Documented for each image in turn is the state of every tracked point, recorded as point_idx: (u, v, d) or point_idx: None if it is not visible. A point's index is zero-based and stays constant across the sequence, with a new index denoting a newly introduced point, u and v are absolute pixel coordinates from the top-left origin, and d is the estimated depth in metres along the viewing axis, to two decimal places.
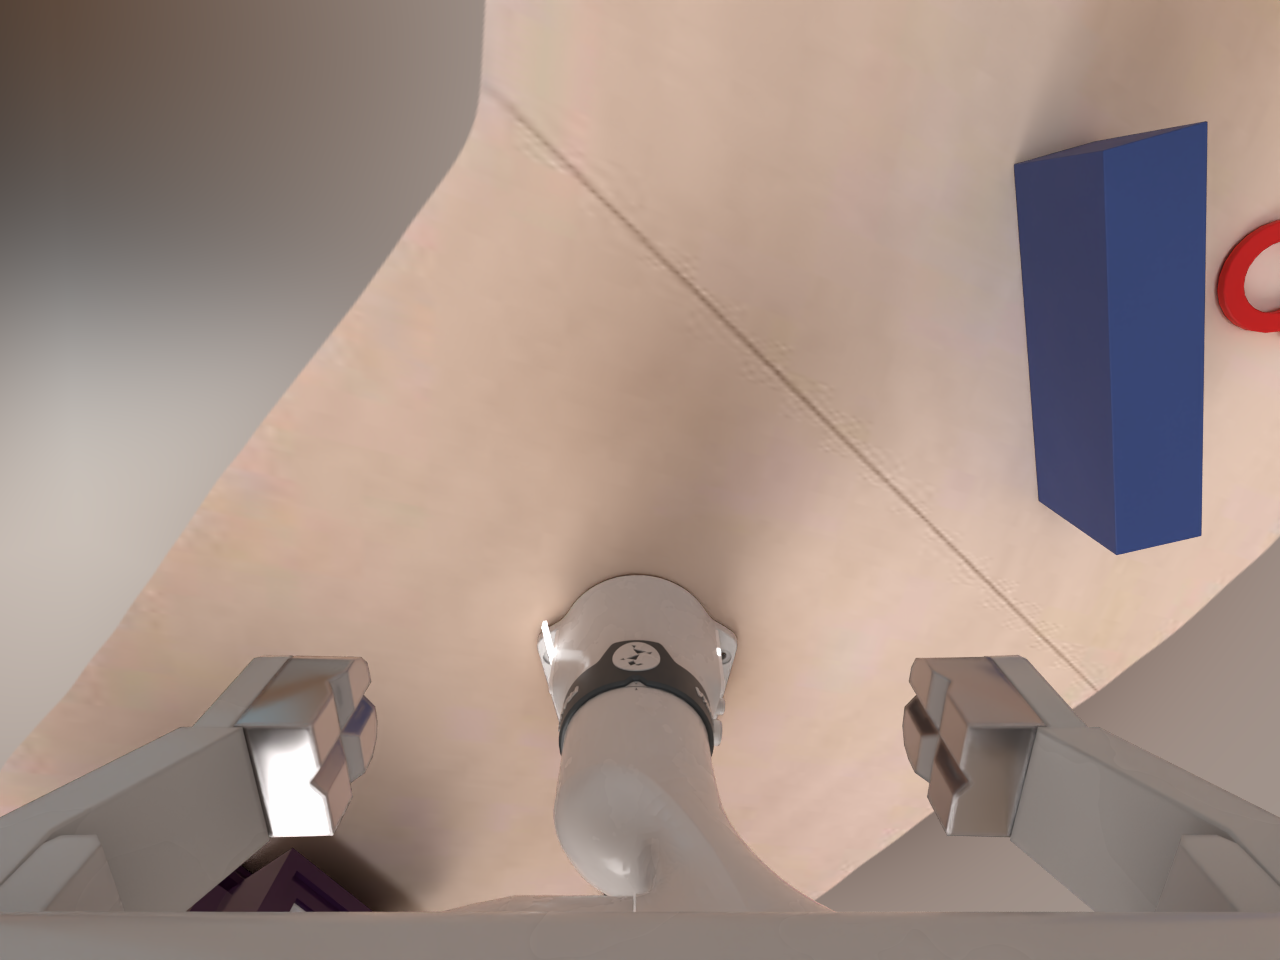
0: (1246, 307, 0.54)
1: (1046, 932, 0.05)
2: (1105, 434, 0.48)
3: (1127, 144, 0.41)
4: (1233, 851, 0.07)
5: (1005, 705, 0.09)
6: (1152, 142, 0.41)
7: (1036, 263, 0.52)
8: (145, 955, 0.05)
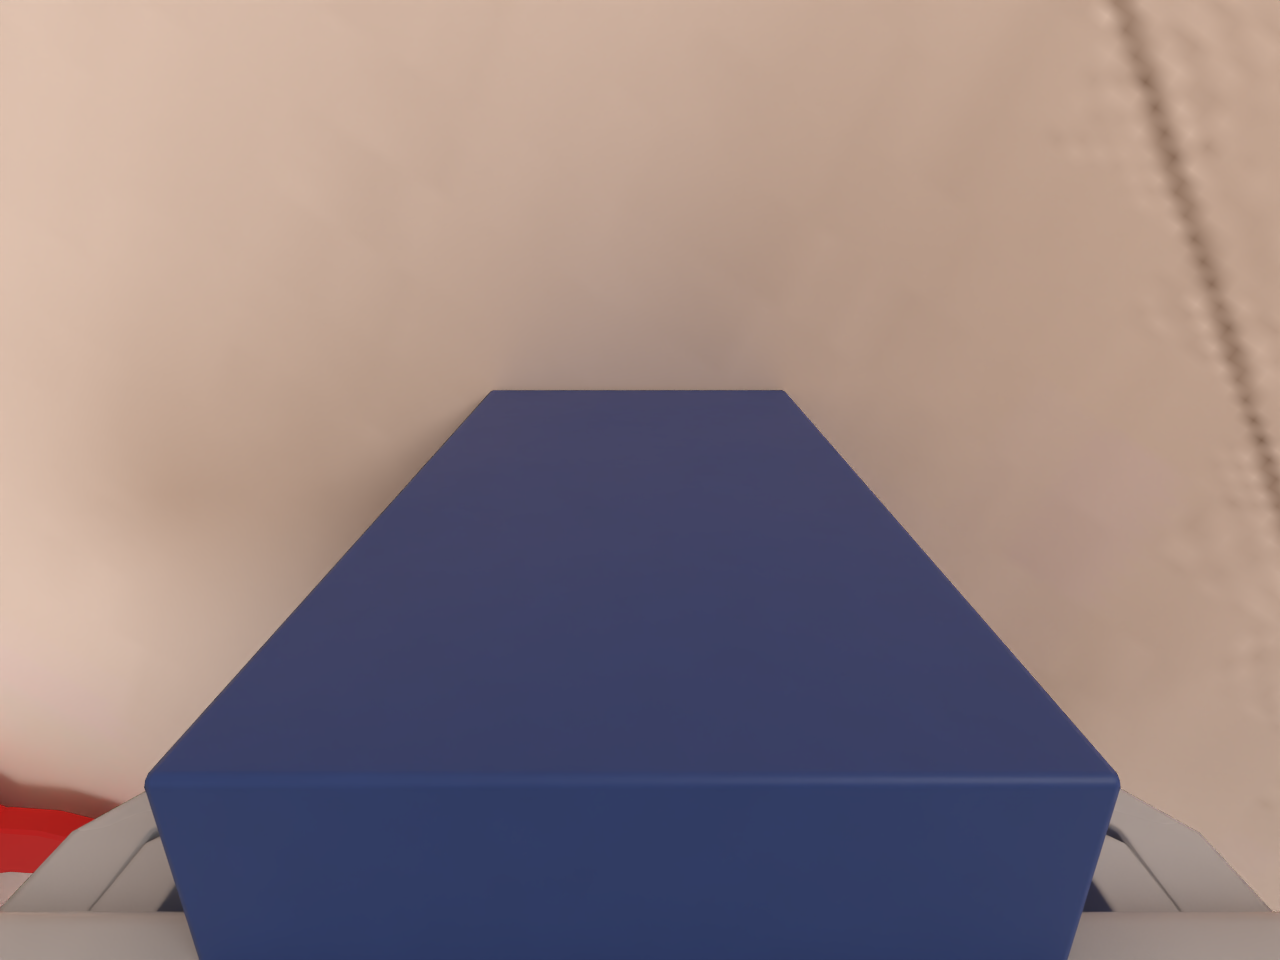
0: None
1: None
2: None
3: None
4: (1119, 850, 0.07)
5: None
6: None
7: None
8: (145, 954, 0.05)
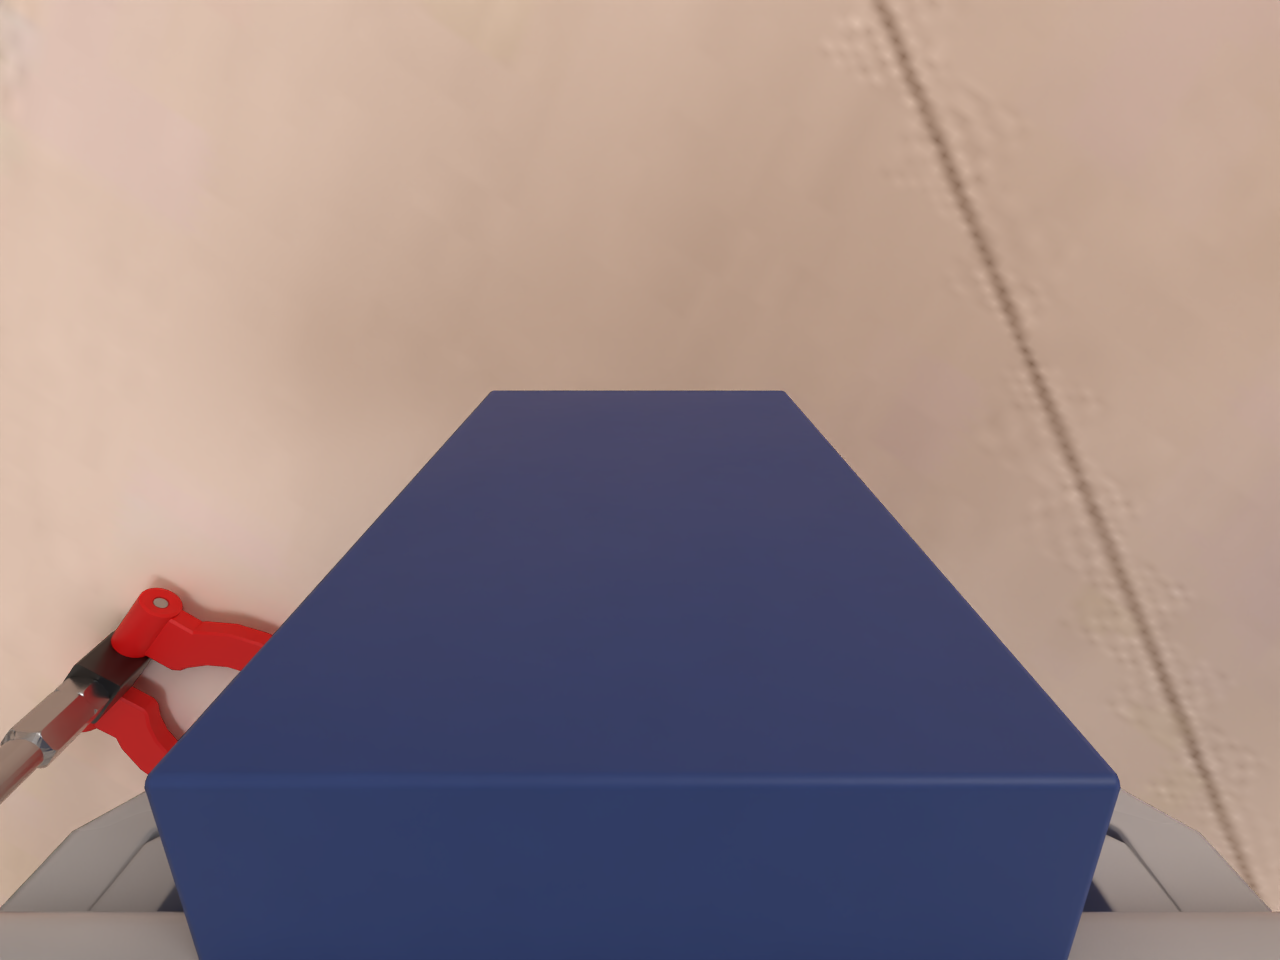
0: None
1: None
2: None
3: None
4: (1120, 850, 0.07)
5: None
6: None
7: None
8: (145, 955, 0.05)
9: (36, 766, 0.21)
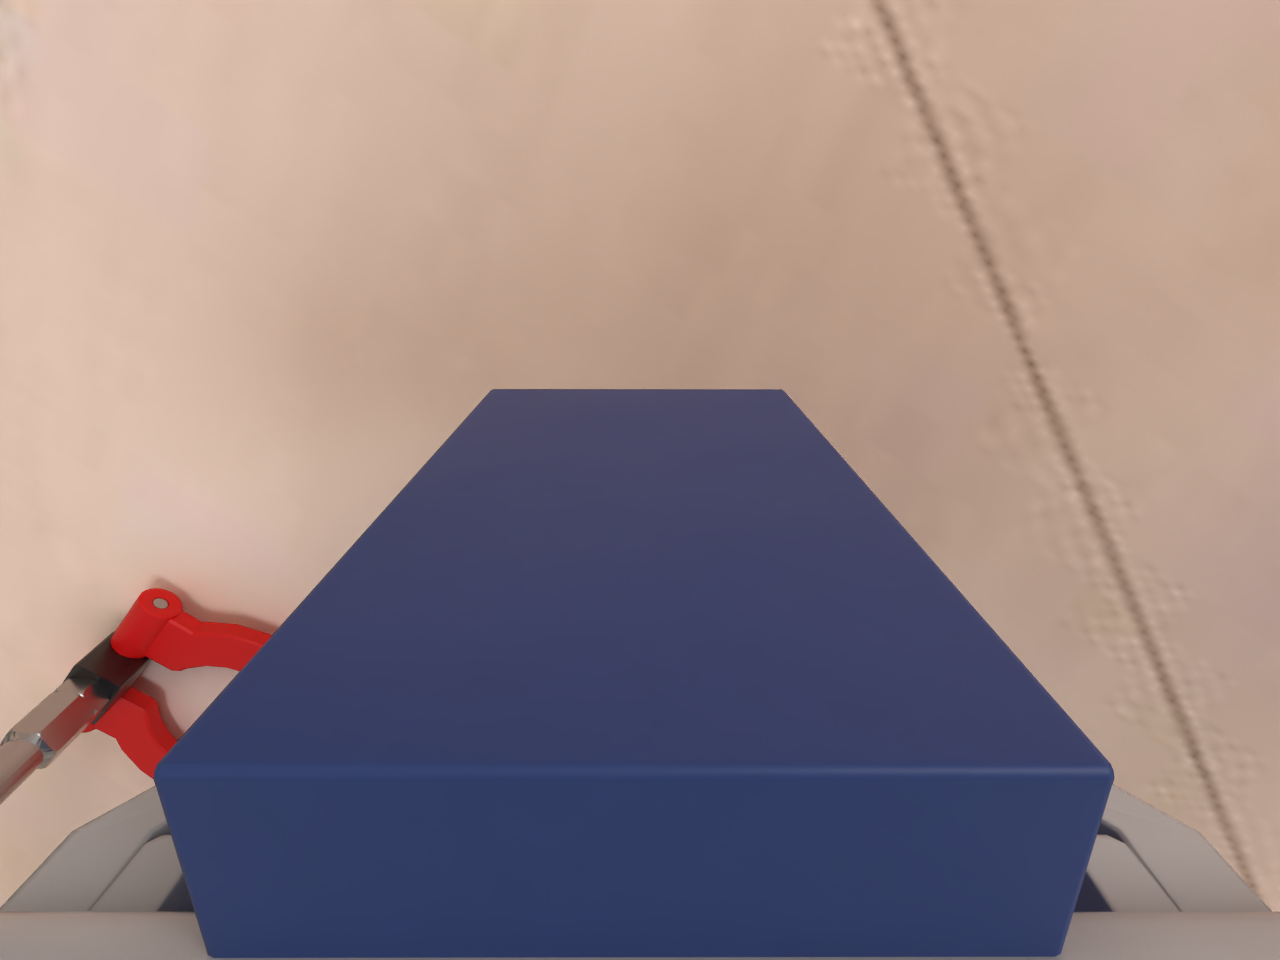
0: None
1: None
2: None
3: None
4: (1120, 850, 0.07)
5: None
6: None
7: None
8: (145, 955, 0.05)
9: (36, 767, 0.21)
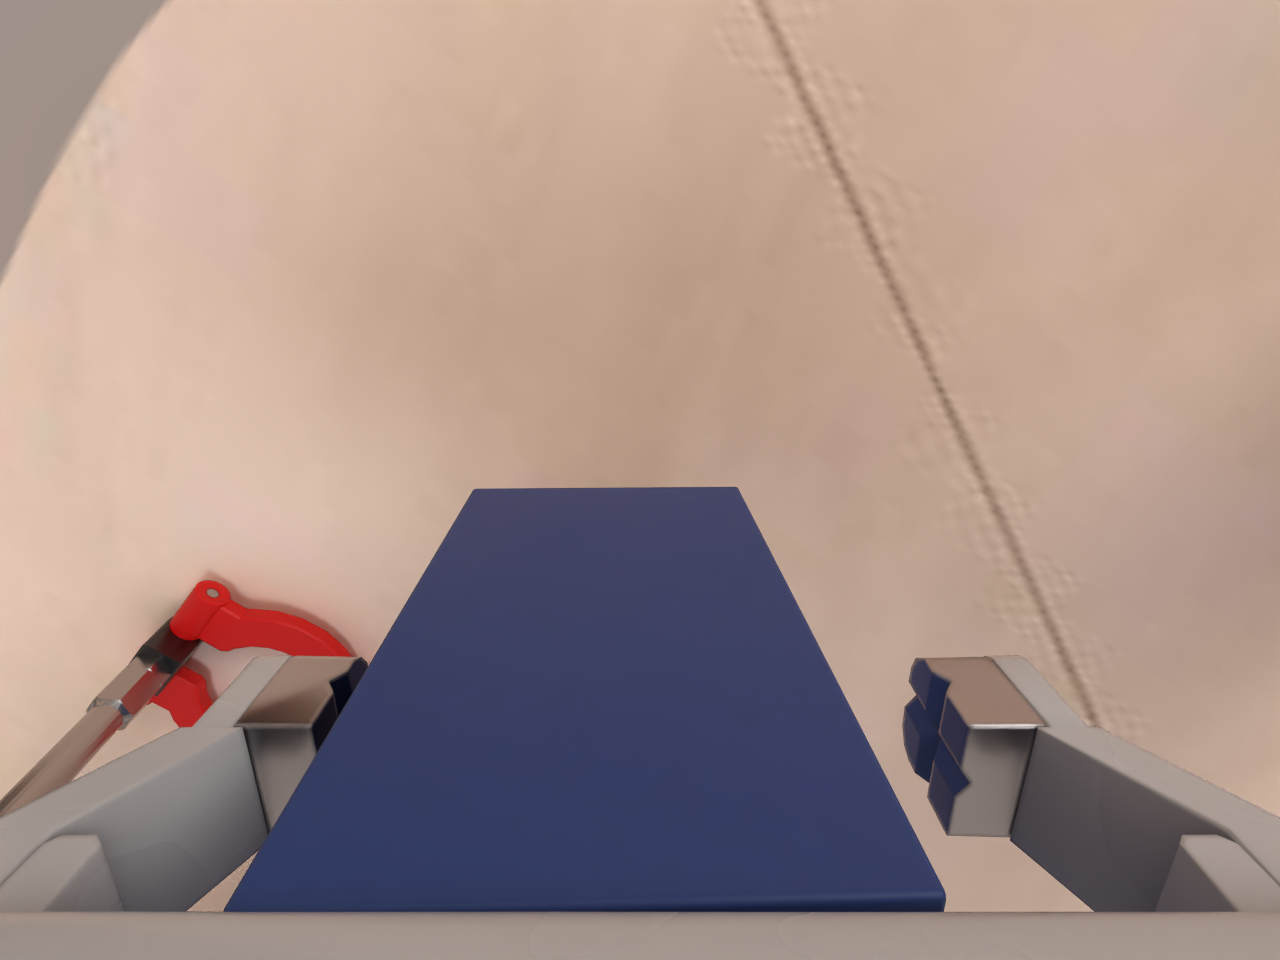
0: None
1: (1046, 931, 0.05)
2: None
3: None
4: (1232, 851, 0.07)
5: (1005, 705, 0.09)
6: None
7: None
8: (145, 955, 0.05)
9: (118, 727, 0.25)
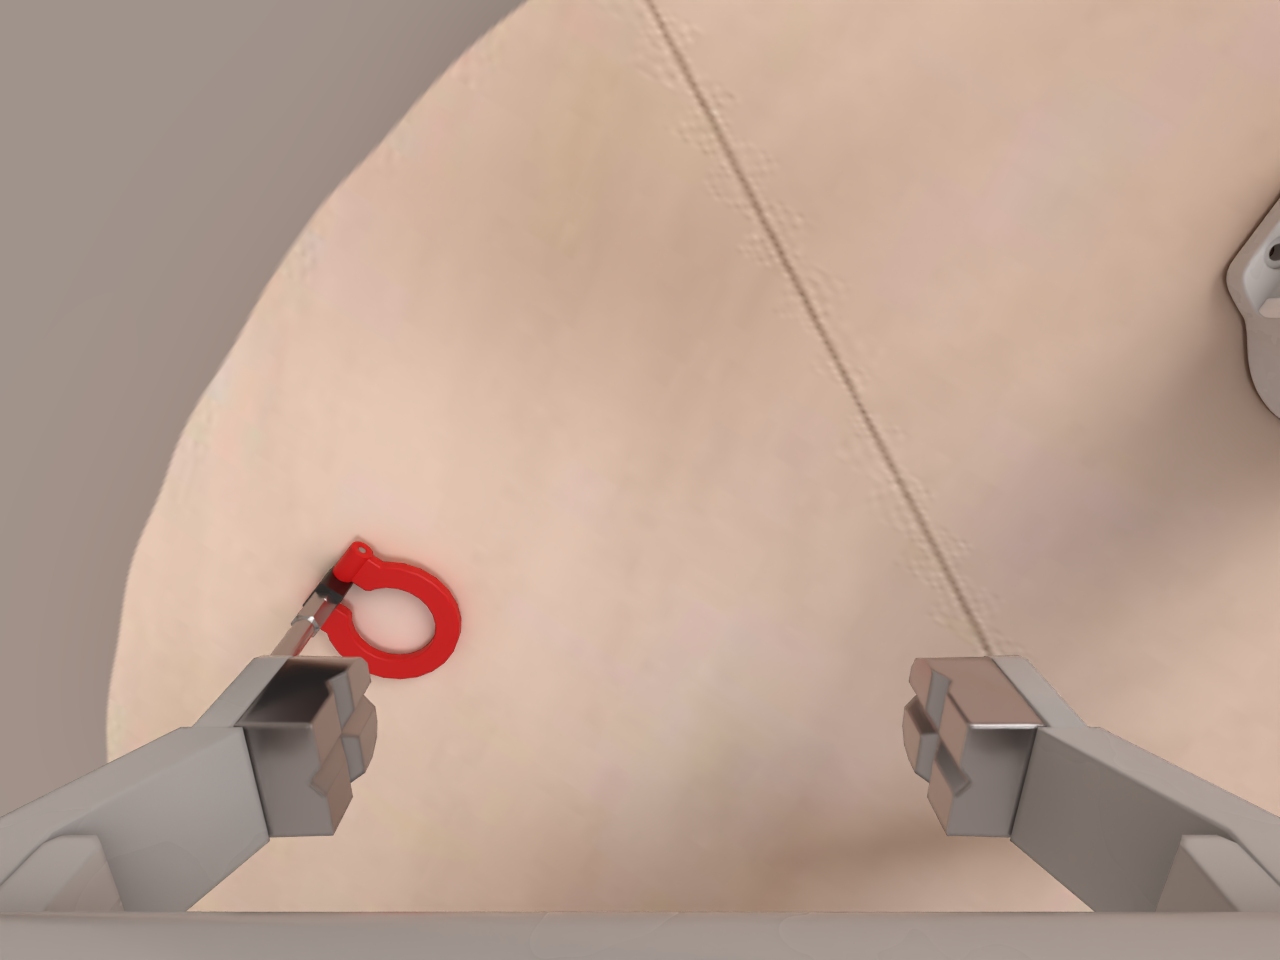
0: (429, 601, 0.43)
1: (1046, 932, 0.05)
2: None
3: None
4: (1234, 850, 0.07)
5: (1005, 705, 0.09)
6: None
7: None
8: (145, 955, 0.05)
9: (312, 634, 0.39)
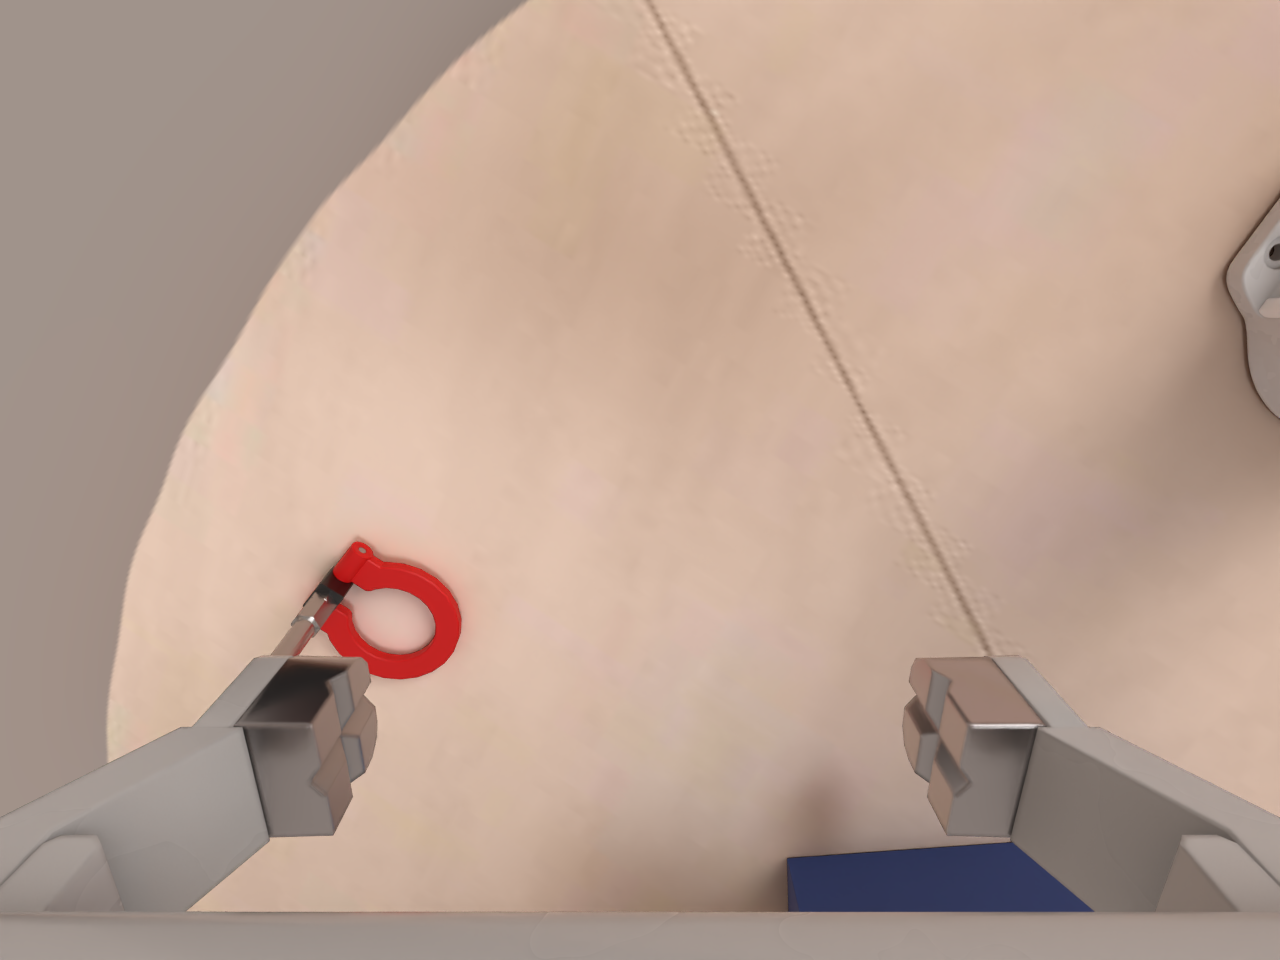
0: (429, 602, 0.43)
1: (1045, 931, 0.05)
2: None
3: None
4: (1232, 850, 0.07)
5: (1005, 705, 0.09)
6: None
7: None
8: (145, 955, 0.05)
9: (312, 634, 0.39)
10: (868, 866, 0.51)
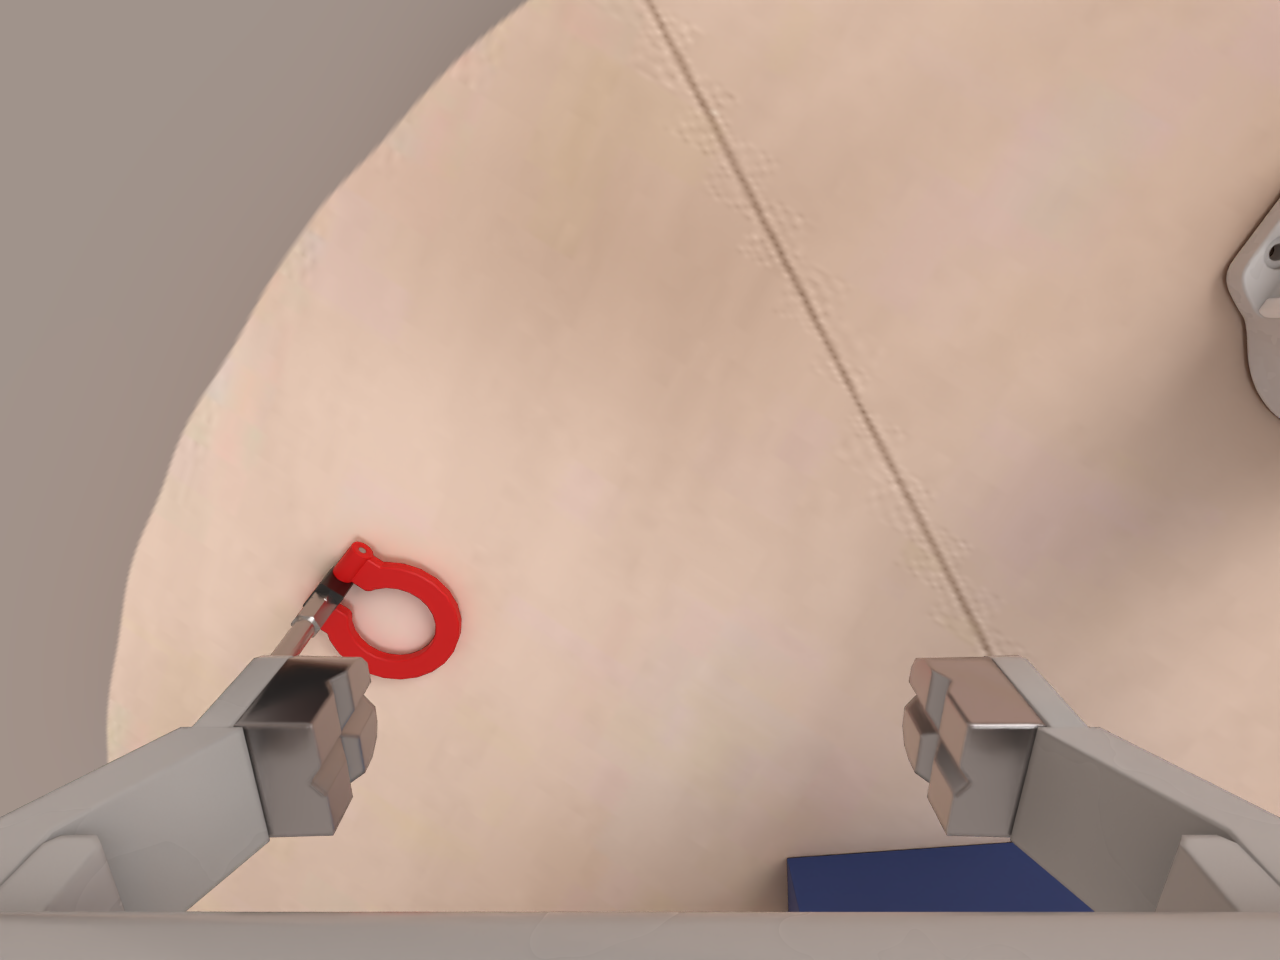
0: (429, 602, 0.43)
1: (1045, 933, 0.05)
2: None
3: None
4: (1232, 850, 0.07)
5: (1005, 705, 0.09)
6: None
7: None
8: (145, 955, 0.05)
9: (312, 634, 0.39)
10: (868, 866, 0.51)
